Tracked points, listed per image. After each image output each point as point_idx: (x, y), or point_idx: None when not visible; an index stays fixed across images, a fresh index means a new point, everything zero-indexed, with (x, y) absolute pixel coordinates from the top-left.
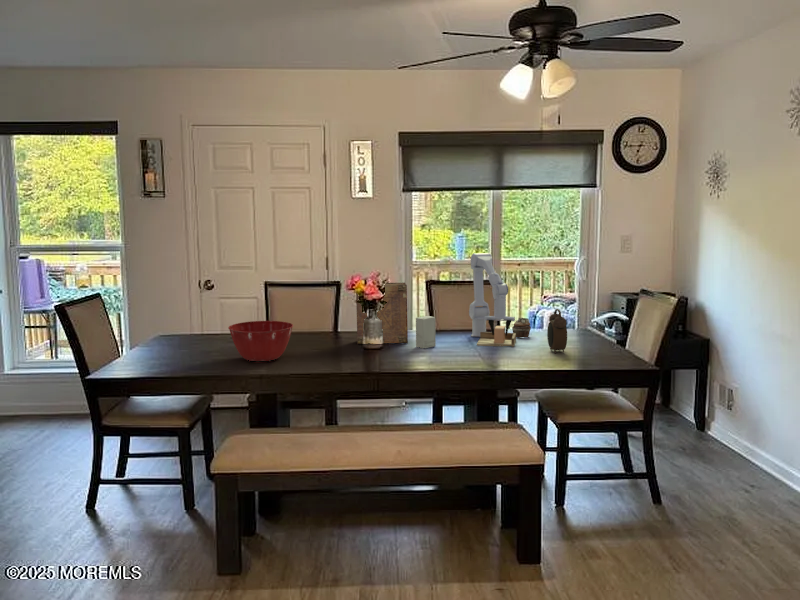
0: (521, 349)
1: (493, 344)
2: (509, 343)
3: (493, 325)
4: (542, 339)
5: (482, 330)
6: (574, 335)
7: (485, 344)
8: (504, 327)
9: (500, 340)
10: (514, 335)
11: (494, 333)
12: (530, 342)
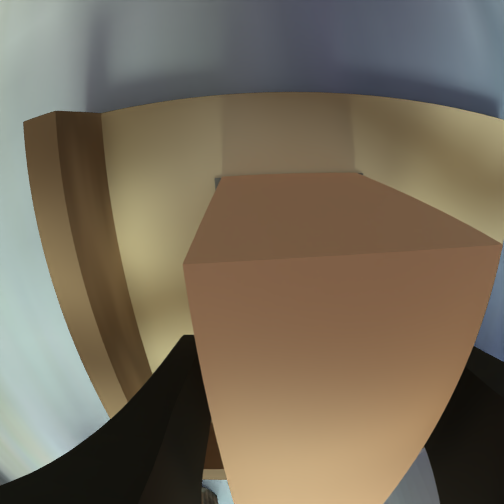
0: (16, 34)
1: (354, 94)
2: (139, 195)
3: (477, 450)
4: (39, 442)
5: (422, 483)
6: (7, 475)
7: (443, 107)
8: (228, 481)
9: (270, 180)
10: (99, 383)
11: (427, 206)
12: (38, 373)
